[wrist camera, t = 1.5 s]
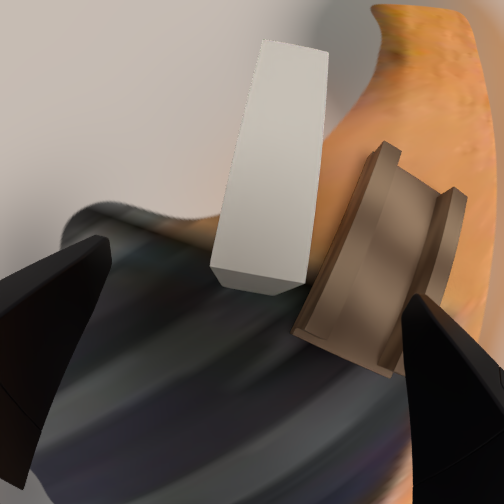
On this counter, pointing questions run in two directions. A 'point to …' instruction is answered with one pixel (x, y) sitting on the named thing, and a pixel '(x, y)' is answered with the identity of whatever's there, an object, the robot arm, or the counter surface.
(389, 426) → the counter surface
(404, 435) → the counter surface
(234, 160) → the clay slab
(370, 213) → the flanged channel block
